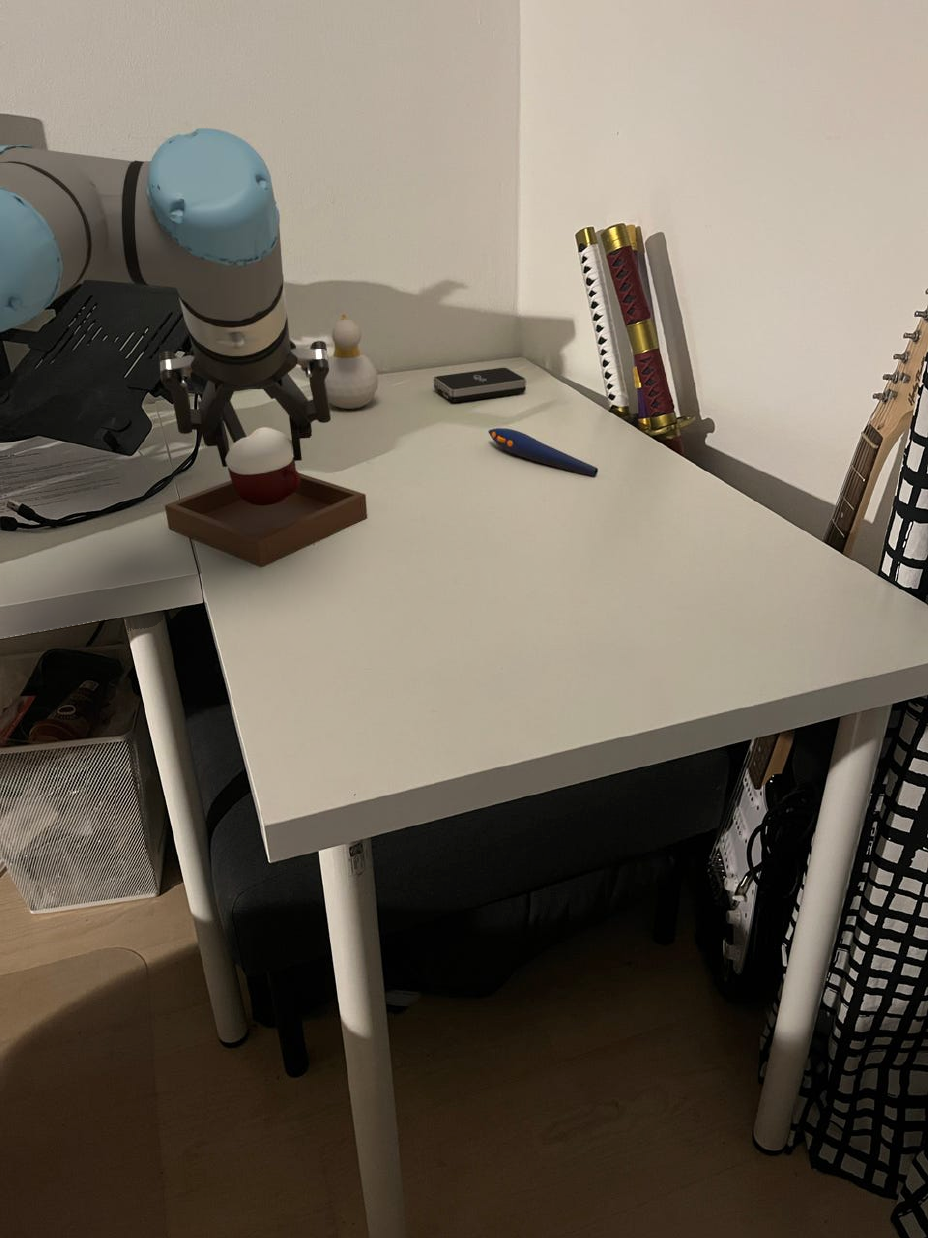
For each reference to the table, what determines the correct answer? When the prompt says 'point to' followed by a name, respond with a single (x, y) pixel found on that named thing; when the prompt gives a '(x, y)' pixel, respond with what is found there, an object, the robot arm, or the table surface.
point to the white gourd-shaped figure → (349, 369)
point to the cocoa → (260, 462)
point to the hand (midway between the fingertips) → (261, 450)
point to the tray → (266, 519)
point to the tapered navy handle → (538, 451)
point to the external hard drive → (479, 384)
